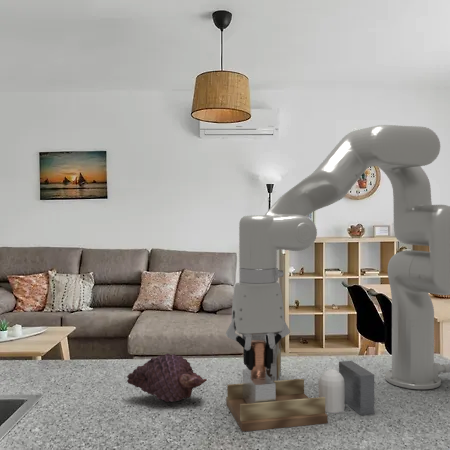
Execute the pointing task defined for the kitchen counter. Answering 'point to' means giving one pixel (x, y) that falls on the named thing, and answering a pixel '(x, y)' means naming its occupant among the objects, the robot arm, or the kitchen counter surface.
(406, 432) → the kitchen counter surface
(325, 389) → the capsule
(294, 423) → the base
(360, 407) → the gray rectangular block
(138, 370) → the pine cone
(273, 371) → the coffee box
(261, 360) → the ram
